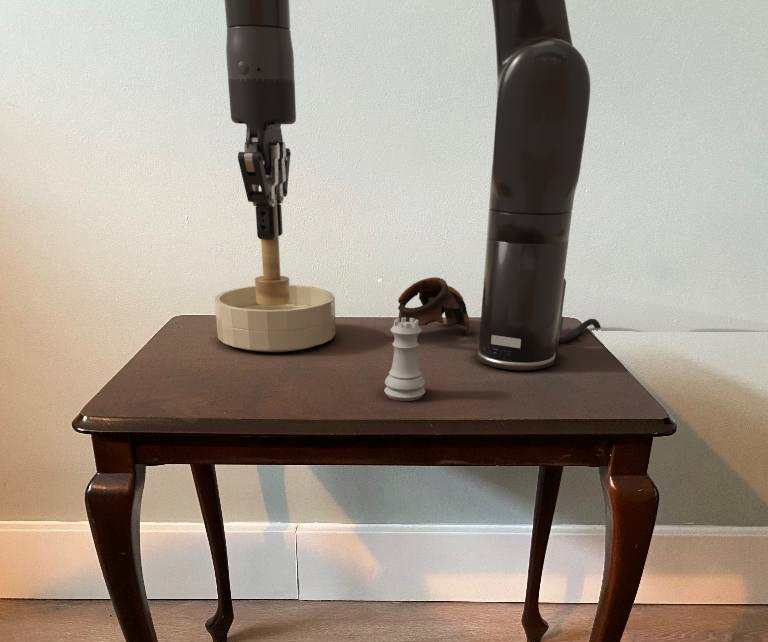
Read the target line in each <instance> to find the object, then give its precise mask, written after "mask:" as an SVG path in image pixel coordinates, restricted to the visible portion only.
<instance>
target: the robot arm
mask: <svg viewBox="0 0 768 642" xmlns="http://www.w3.org/2000/svg"><path fill="white" fill-rule="evenodd" d="M290 7H291V6H290V0H224V8H225V10H224V11H225V23H226V24H225V25H226V45H225V47H226V48H225V57H226V70H227V82H228V85H227V86H228V96H229V97H228V98H229V110H230V119H231V121H232V122H233V123H234V124H240V125H242V124H243V125H245V126H246V134H245V142H244V145H243V147H244V148H243V149H244V151H238V153H237V160H238V165H239V169H240V173H241V178H242V182H243V187H244V190H245V195H246V198H247V199H246V200H247V202H248V203H252V206H253V207H255V221H256V234H257V235H256V236H257V238H258V239H259V240H261V239H264V240H272V239H274V238H275V237H276V222H275V207H274V205H275V194H276V196H277V216H278V235H279V237H280V236H282V235H283V231H284V230H283V213H282V212H283V211H282V210H283V209H282V204H283V203H284V200H285V198H287V196H288V187H289V177H290V176H289V174H290V163H291V155H292V153H291V150H290V148H289V147H287V145H286V143H285V141H284V139H283V133H282V127H281V125H293V124H295V123H296V120H297V109H296V107H297V105H296V81H295V55H294V48H293V41H292V33H291V10H290ZM491 7H492V15H493V24H494V37H495V53H496V54H495V57H496V78H497V79H496V81H497V82H496V106H495V107H496V108H495V121H494V122H495V123H494V137H493V138H494V139H493V152H492V153H493V154H492V164H491V174H490V185H489V201H488V214H487V215H488V216H487V228H486V229H487V230H486V241H485V242H486V244H485V257H484V273H483V283H482V300H481V312H480V313H481V315H480V325H479V326H480V327H479V328H480V329H479V342H478V348H477V355H476V356H477V357H476V358H477V359H478V361H479V362H480V363H482V364H484V365H487V366H489V367H493V368H496V369H502V370H510V371H537V370H543V369H545V368H549V367H551V366H552V365H554V364H555V361H556V358H557V357H558V351H559V345H562V344H565V343H568V342H570V341H572V340H575V339H576V338H577V337H579V334H581V332H582V331H584V330H585V329H587V328H588V327H591V326H593V328H595V329H601V328H602V326H601V323H600V322H599V320H597V319H596V318H589V319H586V320H585V321H583V322H582V323H581V324H580V325H578V326H576V327H575V328H574V329H573V330H572V332H571V333H568V334H566V335H564V336H560V335H562V331H563V323H564V316H563V310H564V304H565V303H564V302H565V295H566V286H567V280H566V278H565V272H566V265H567V257H568V249H569V240H570V239H569V238H570V231H571V223H572V216H573V209H574V200H575V196H576V195H575V194H576V191H577V186H578V183H579V179H580V175H581V167H582V159H583V153H584V145H585V138H586V132H587V131H586V130H587V124H588V117H589V108H590V99H591V76H590V71H589V67H588V64H587V62H586V60H585V58H584V57H583V55H582V54H581V52H580V51H579V50H578V49H577V48H576V47H575V46H574V45H573V40H572V34H571V29H570V22H569V17H568V10H567V5H566V0H491Z"/></svg>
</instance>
